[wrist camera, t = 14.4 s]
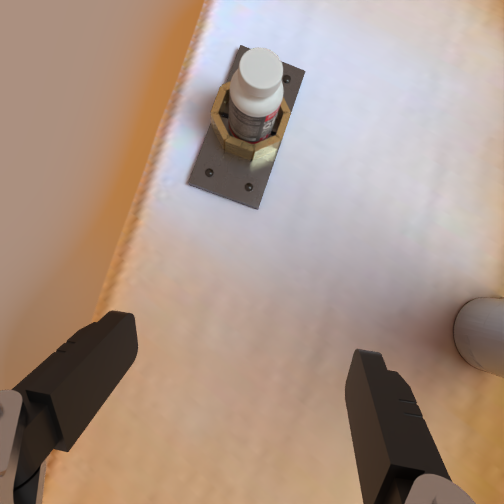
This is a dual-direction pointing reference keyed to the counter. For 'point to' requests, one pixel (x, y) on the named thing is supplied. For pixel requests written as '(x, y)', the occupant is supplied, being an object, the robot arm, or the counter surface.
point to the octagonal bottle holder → (242, 146)
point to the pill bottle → (255, 95)
